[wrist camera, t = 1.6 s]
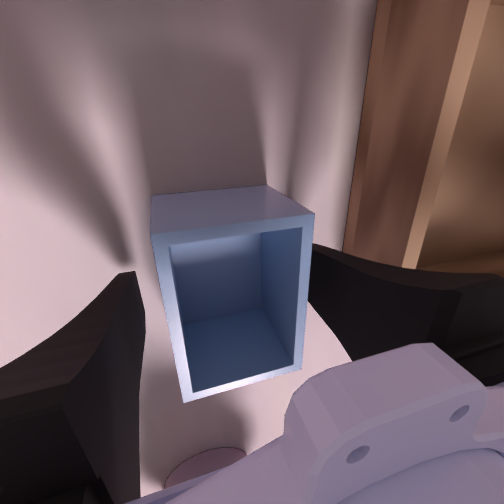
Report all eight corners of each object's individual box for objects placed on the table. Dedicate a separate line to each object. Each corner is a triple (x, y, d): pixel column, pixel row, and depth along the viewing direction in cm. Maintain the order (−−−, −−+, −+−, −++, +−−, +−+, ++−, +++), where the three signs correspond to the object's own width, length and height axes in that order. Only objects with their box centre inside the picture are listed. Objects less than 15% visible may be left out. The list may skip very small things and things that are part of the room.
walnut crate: (504, 252, 20) (576, 280, 17) (337, 287, 17) (385, 332, 13) (611, 4, 14) (759, -32, 11) (381, -27, 10) (494, -99, 7)
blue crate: (265, 307, 16) (301, 369, 12) (175, 326, 14) (183, 403, 11) (266, 184, 13) (314, 213, 9) (151, 194, 11) (149, 234, 7)
